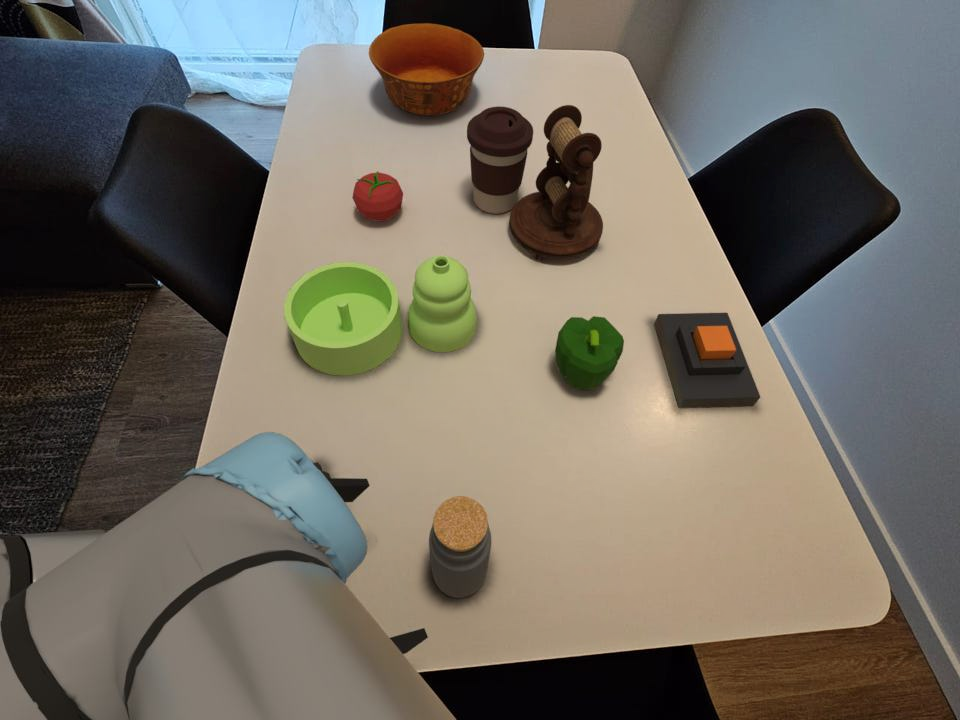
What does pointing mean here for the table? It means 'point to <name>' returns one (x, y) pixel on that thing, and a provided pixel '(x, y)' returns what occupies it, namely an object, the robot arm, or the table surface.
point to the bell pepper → (588, 351)
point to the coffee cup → (498, 157)
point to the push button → (703, 364)
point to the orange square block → (714, 342)
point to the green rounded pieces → (377, 314)
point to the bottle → (459, 546)
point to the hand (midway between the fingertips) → (385, 560)
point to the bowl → (426, 66)
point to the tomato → (377, 196)
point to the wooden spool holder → (561, 193)
